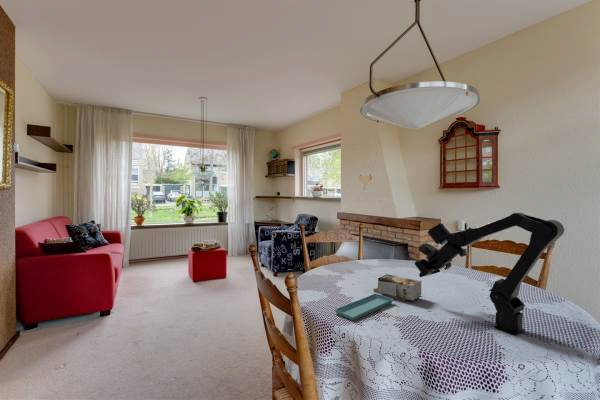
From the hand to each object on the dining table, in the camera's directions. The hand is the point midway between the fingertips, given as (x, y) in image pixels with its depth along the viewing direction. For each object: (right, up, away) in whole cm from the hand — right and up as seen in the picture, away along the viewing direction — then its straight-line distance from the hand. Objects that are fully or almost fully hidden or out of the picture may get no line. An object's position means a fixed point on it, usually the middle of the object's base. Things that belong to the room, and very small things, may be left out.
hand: (420, 276), depth 124 cm
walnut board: (-7, -10, +10) cm, 16 cm away
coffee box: (-1, -6, 0) cm, 6 cm away
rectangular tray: (-25, -11, -8) cm, 28 cm away
